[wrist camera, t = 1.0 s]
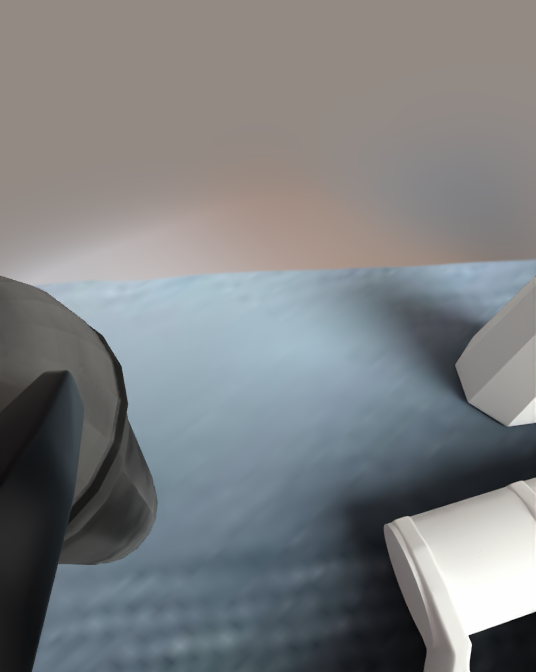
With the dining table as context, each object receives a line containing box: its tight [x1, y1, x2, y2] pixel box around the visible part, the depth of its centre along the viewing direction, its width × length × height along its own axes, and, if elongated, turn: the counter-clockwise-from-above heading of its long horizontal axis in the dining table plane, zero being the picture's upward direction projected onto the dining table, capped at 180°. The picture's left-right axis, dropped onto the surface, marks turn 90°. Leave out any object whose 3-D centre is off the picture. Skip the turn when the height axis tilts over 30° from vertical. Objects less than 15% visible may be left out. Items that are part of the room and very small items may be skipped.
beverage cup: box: [0, 276, 158, 565], centre depth 14 cm, size 7×7×20 cm
